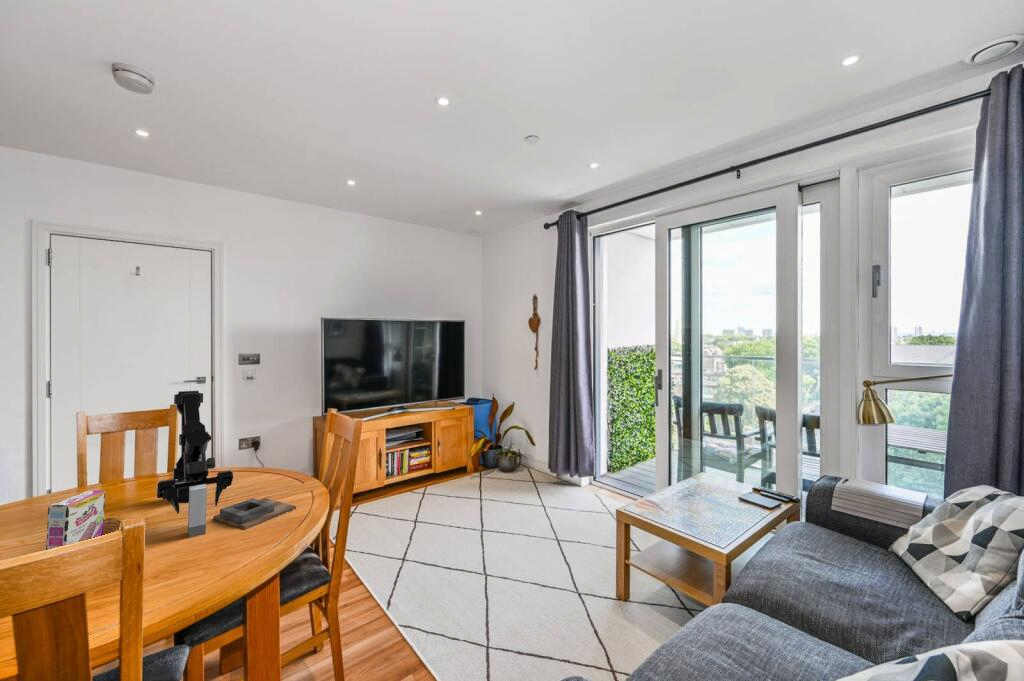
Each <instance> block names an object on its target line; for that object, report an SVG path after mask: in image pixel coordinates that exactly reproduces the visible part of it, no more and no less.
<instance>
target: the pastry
mask: <svg viewBox="0 0 1024 681" xmlns="http://www.w3.org/2000/svg"><path fill="white" fill-rule="evenodd" d="M121 522H122V521H121V520H120V519H118V518H117V517H107V518H104V525H103V535H105V534H108V533H111V532H114V531H116V530H119V527H120V523H121Z"/></svg>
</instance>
